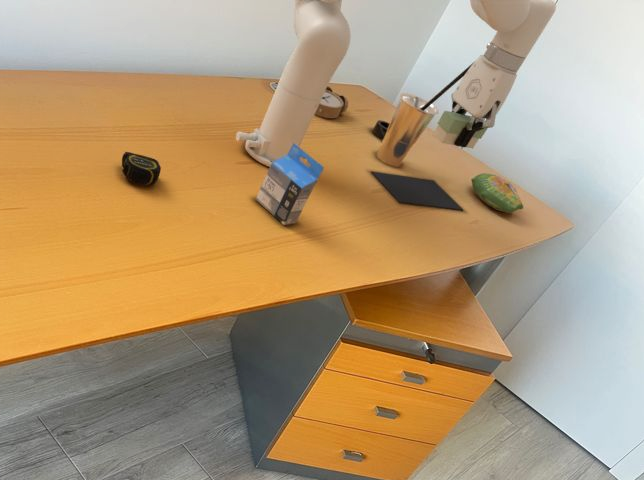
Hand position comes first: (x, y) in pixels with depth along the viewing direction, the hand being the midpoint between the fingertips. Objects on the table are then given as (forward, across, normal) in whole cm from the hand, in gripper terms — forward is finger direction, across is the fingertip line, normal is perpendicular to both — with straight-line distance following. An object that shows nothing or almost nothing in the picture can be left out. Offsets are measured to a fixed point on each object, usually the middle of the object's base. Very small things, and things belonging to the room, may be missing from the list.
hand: (453, 139), depth 153 cm
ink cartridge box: (+16, +12, -45) cm, 49 cm away
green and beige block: (0, 0, 0) cm, 0 cm away
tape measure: (+16, +5, -72) cm, 74 cm away
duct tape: (+16, -33, +11) cm, 39 cm away
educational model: (+16, -4, +28) cm, 33 cm away
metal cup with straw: (+16, -18, +4) cm, 25 cm away
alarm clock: (+16, -44, -3) cm, 47 cm away
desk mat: (+16, -4, +3) cm, 16 cm away
